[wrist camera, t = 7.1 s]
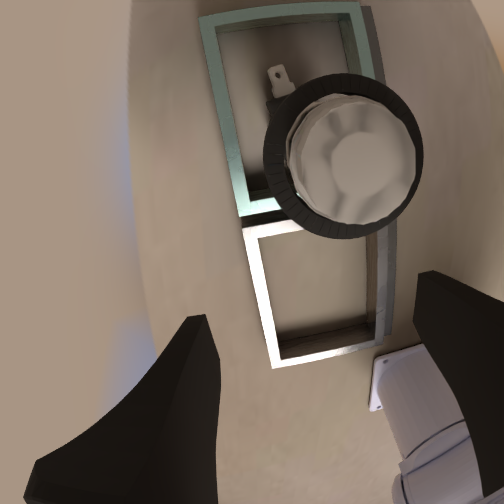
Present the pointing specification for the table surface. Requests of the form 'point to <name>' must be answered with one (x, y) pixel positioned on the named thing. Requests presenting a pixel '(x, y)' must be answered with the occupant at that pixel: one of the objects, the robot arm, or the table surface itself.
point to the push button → (341, 153)
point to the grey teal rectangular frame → (259, 202)
